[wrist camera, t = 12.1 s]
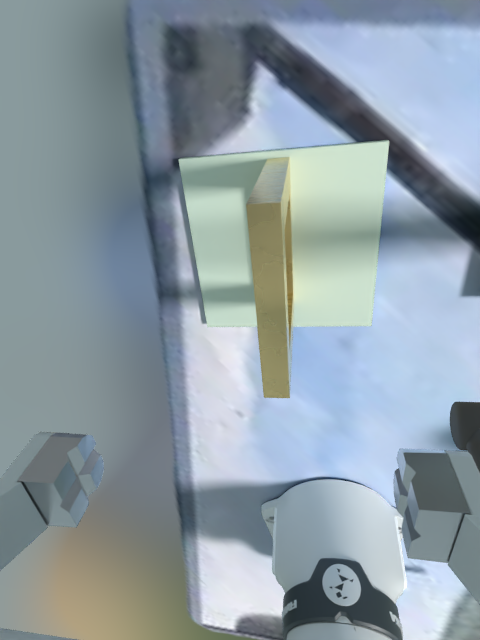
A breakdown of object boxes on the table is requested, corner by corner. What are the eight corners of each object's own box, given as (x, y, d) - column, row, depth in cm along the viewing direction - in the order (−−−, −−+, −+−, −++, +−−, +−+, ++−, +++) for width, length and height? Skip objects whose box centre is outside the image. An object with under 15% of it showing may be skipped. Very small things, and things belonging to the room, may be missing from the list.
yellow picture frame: (294, 302, 33) (289, 398, 23) (276, 302, 34) (263, 397, 24) (289, 156, 27) (280, 202, 17) (267, 158, 27) (245, 204, 17)
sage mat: (370, 322, 34) (371, 326, 34) (208, 323, 37) (207, 327, 36) (387, 139, 26) (389, 141, 26) (180, 158, 29) (178, 159, 28)
